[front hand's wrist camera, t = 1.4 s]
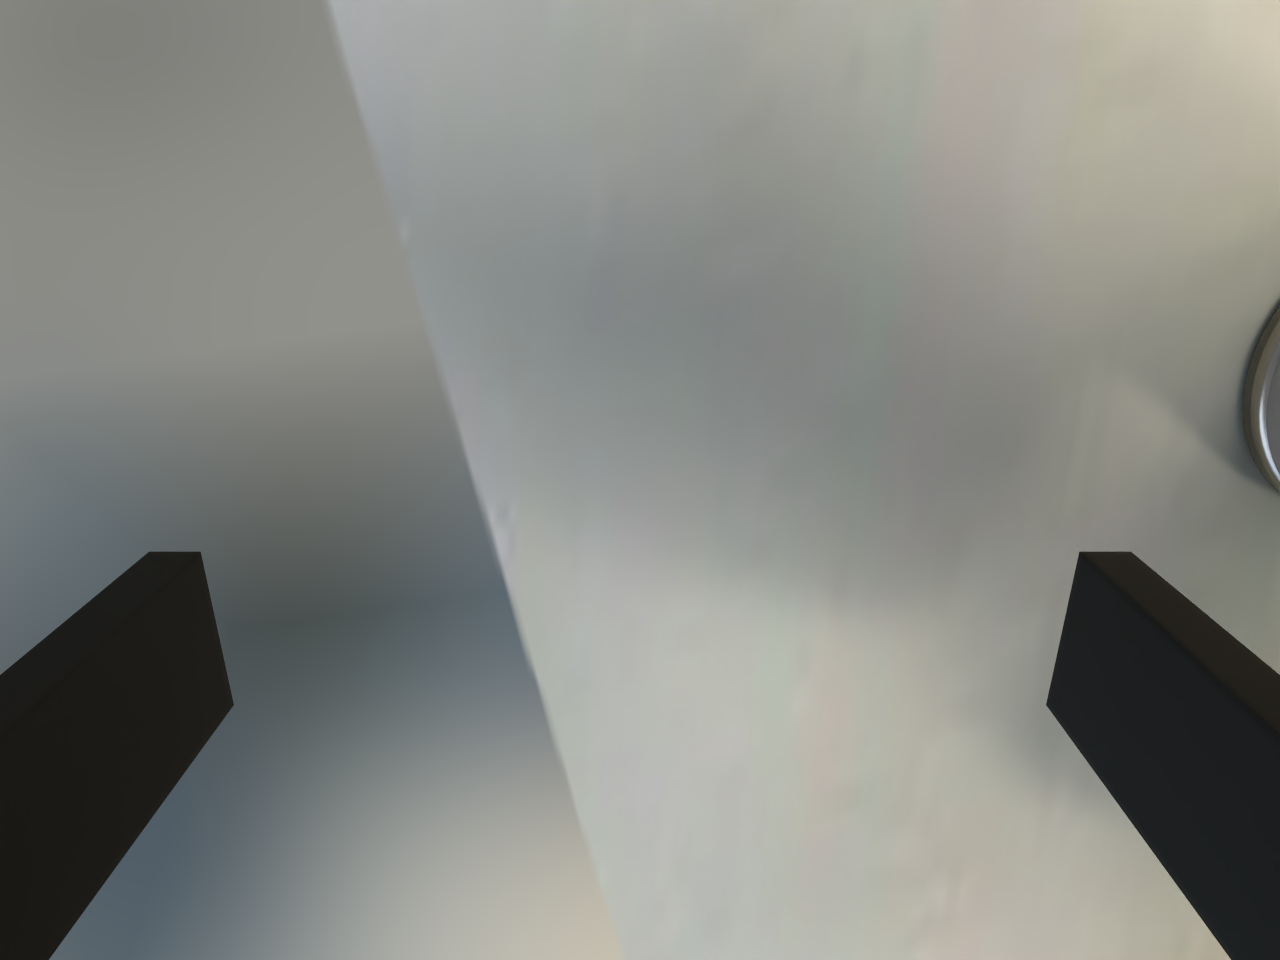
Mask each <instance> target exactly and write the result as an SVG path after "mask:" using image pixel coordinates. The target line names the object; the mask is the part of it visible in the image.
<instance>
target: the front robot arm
mask: <svg viewBox="0 0 1280 960" xmlns="http://www.w3.org/2000/svg"><path fill="white" fill-rule="evenodd" d="M1243 423H1244V430H1245V436H1246V440H1247V443H1248V447H1249V450H1250V452H1251V454H1252V457H1253V459H1254V461H1255V463H1256V464H1257V466H1258V468H1259V470H1260V471H1261V473H1262V474H1263V475H1264V476H1265V478H1266V479H1267V480H1268V481H1269V482H1270V483H1271V484H1272V485H1273V486H1274V487H1275V488H1276V489H1277V490H1278V491H1279V492H1280V306H1279V307H1278V309H1277V310H1276V312H1275V313H1274V315H1273V316H1272V318H1271V320H1270V322H1269V323H1268V325H1267V327H1266V328H1265V330H1264V332H1263V334H1262V336H1261V338H1260V341H1259V343H1258V345H1257V347H1256V350H1255V352H1254V355H1253V358H1252V360H1251V363H1250V367H1249V370H1248V374H1247V378H1246V383H1245V389H1244V398H1243ZM233 705H234V704H233V699H232V695H231V690H230V685H229V681H228V676H227V672H226V667H225V662H224V658H223V653H222V649H221V644H220V639H219V635H218V630H217V626H216V621H215V617H214V612H213V607H212V602H211V598H210V593H209V589H208V584H207V579H206V575H205V570H204V565H203V561H202V556H201V552H148V553H147V554H146V555H145V556H144V557H142V558H141V559H140V560H139V561H138V562H136V563H135V564H134V565H133V566H132V567H130V568H129V569H128V570H127V571H125V572H124V573H123V574H122V575H121V576H119V577H118V578H117V579H116V580H115V581H113V582H112V583H111V584H110V585H109V586H107V587H106V588H105V589H104V590H103V591H101V592H100V593H99V594H98V595H96V596H95V597H94V598H93V599H92V600H90V601H89V602H88V603H87V604H86V605H84V606H83V607H82V608H81V609H80V610H78V611H77V612H76V613H75V614H74V615H72V616H71V617H70V618H69V619H67V620H66V621H65V622H64V623H63V624H61V625H60V626H59V627H58V628H57V629H55V630H54V631H53V632H52V633H51V634H49V635H48V636H47V637H46V638H45V639H43V640H42V641H41V642H40V643H39V644H37V645H36V646H35V647H34V648H33V649H31V650H30V651H29V652H28V653H26V654H25V655H24V656H23V657H22V658H20V659H19V660H18V661H17V662H16V663H14V664H13V665H12V666H11V667H10V668H8V669H7V670H6V671H5V672H4V673H2V674H1V675H0V960H49V959H50V957H51V956H52V954H53V953H54V952H55V950H56V949H57V948H58V946H59V945H60V943H61V942H62V941H63V939H64V938H65V937H66V935H67V934H68V932H69V931H70V930H71V928H72V927H73V926H74V924H75V923H76V921H77V920H78V919H79V917H80V916H81V914H82V913H83V912H84V910H85V909H86V908H87V906H88V905H89V903H90V902H91V901H92V899H93V898H94V897H95V895H96V894H97V892H98V891H99V890H100V888H101V887H102V885H103V884H104V883H105V881H106V880H107V879H108V877H109V876H110V875H111V873H112V872H113V870H114V869H115V868H116V866H117V865H118V864H119V862H120V861H121V859H122V858H123V857H124V855H125V854H126V853H127V851H128V850H129V848H130V847H131V846H132V844H133V843H134V841H135V840H136V839H137V837H138V836H139V835H140V833H141V832H142V830H143V829H144V828H145V826H146V825H147V824H148V822H149V821H150V819H151V818H152V817H153V815H154V814H155V813H156V811H157V810H158V808H159V807H160V806H161V804H162V803H163V802H164V800H165V799H166V797H167V796H168V795H169V793H170V792H171V791H172V789H173V788H174V786H175V785H176V784H177V782H178V781H179V779H180V778H181V777H182V775H183V774H184V773H185V771H186V770H187V769H188V767H189V766H190V764H191V763H192V762H193V760H194V759H195V758H196V756H197V755H198V753H199V752H200V751H201V749H202V748H203V746H204V745H205V744H206V742H207V741H208V740H209V738H210V737H211V735H212V734H213V733H214V731H215V730H216V729H217V727H218V726H219V724H220V723H221V722H222V720H223V719H224V717H225V716H226V715H227V713H228V712H229V711H230V709H231V708H232V707H233ZM1046 705H1047V707H1048V708H1049V709H1050V711H1051V712H1052V713H1053V715H1054V716H1055V718H1056V719H1057V720H1058V722H1059V723H1060V724H1061V726H1062V727H1063V729H1064V730H1065V731H1066V733H1067V734H1068V735H1069V737H1070V738H1071V740H1072V741H1073V742H1074V744H1075V745H1076V747H1077V748H1078V749H1079V751H1080V752H1081V753H1082V755H1083V756H1084V758H1085V759H1086V760H1087V762H1088V763H1089V764H1090V766H1091V767H1092V769H1093V770H1094V771H1095V773H1096V774H1097V775H1098V777H1099V778H1100V780H1101V781H1102V782H1103V784H1104V785H1105V786H1106V788H1107V789H1108V791H1109V792H1110V793H1111V795H1112V796H1113V797H1114V799H1115V800H1116V802H1117V803H1118V804H1119V806H1120V807H1121V808H1122V810H1123V811H1124V813H1125V814H1126V815H1127V817H1128V818H1129V819H1130V821H1131V822H1132V824H1133V825H1134V826H1135V828H1136V829H1137V831H1138V832H1139V833H1140V835H1141V836H1142V837H1143V839H1144V840H1145V842H1146V843H1147V844H1148V846H1149V847H1150V848H1151V850H1152V851H1153V853H1154V854H1155V855H1156V857H1157V858H1158V859H1159V861H1160V862H1161V864H1162V865H1163V866H1164V868H1165V869H1166V870H1167V872H1168V873H1169V875H1170V876H1171V877H1172V879H1173V880H1174V881H1175V883H1176V884H1177V886H1178V887H1179V888H1180V890H1181V891H1182V892H1183V894H1184V895H1185V897H1186V898H1187V899H1188V901H1189V902H1190V903H1191V905H1192V906H1193V908H1194V909H1195V910H1196V912H1197V913H1198V915H1199V916H1200V917H1201V919H1202V920H1203V921H1204V923H1205V924H1206V926H1207V927H1208V928H1209V930H1210V931H1211V932H1212V934H1213V935H1214V937H1215V938H1216V939H1217V941H1218V942H1219V943H1220V945H1221V946H1222V948H1223V949H1224V950H1225V952H1226V953H1227V954H1228V956H1229V957H1230V959H1231V960H1280V675H1279V674H1278V673H1277V672H1275V671H1274V670H1273V669H1272V668H1270V667H1269V666H1268V665H1267V664H1266V663H1264V662H1263V661H1262V660H1261V659H1260V658H1258V657H1257V656H1256V655H1255V654H1254V653H1252V652H1251V651H1250V650H1249V649H1248V648H1246V647H1245V646H1244V645H1243V644H1241V643H1240V642H1239V641H1238V640H1237V639H1235V638H1234V637H1233V636H1232V635H1231V634H1229V633H1228V632H1227V631H1226V630H1225V629H1223V628H1222V627H1221V626H1220V625H1219V624H1217V623H1216V622H1215V621H1214V620H1213V619H1211V618H1210V617H1209V616H1208V615H1206V614H1205V613H1204V612H1203V611H1202V610H1200V609H1199V608H1198V607H1197V606H1196V605H1194V604H1193V603H1192V602H1191V601H1190V600H1188V599H1187V598H1186V597H1185V596H1184V595H1182V594H1181V593H1180V592H1179V591H1177V590H1176V589H1175V588H1174V587H1173V586H1171V585H1170V584H1169V583H1168V582H1167V581H1165V580H1164V579H1163V578H1162V577H1161V576H1159V575H1158V574H1157V573H1156V572H1155V571H1153V570H1152V569H1151V568H1150V567H1149V566H1147V565H1146V564H1145V563H1144V562H1142V561H1141V560H1140V559H1139V558H1138V557H1136V556H1135V555H1134V554H1133V553H1132V552H1079V556H1078V561H1077V565H1076V570H1075V575H1074V579H1073V584H1072V589H1071V593H1070V598H1069V602H1068V607H1067V612H1066V616H1065V621H1064V625H1063V630H1062V635H1061V639H1060V644H1059V649H1058V653H1057V658H1056V662H1055V667H1054V672H1053V676H1052V681H1051V685H1050V690H1049V695H1048V699H1047V704H1046Z"/></svg>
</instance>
